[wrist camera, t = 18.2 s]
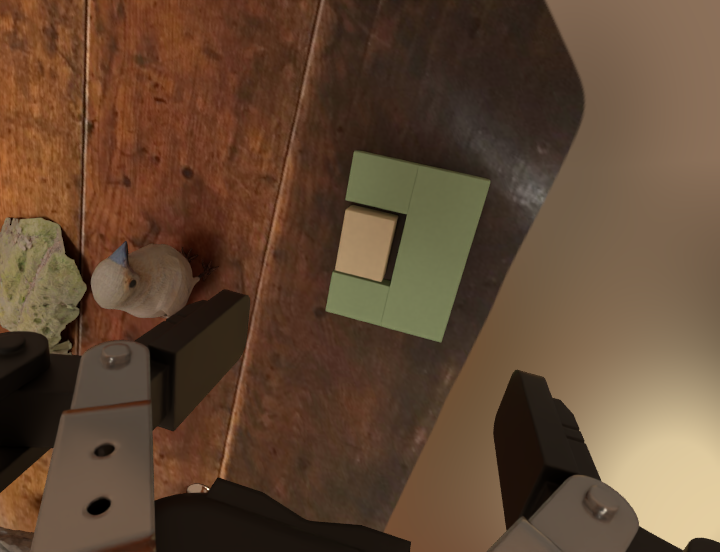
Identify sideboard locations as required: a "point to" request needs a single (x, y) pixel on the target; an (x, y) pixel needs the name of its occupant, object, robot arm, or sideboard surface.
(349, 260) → the cream pad
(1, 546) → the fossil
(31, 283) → the mossy green rock
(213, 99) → the sideboard surface
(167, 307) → the bird
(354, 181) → the green c-shaped block
